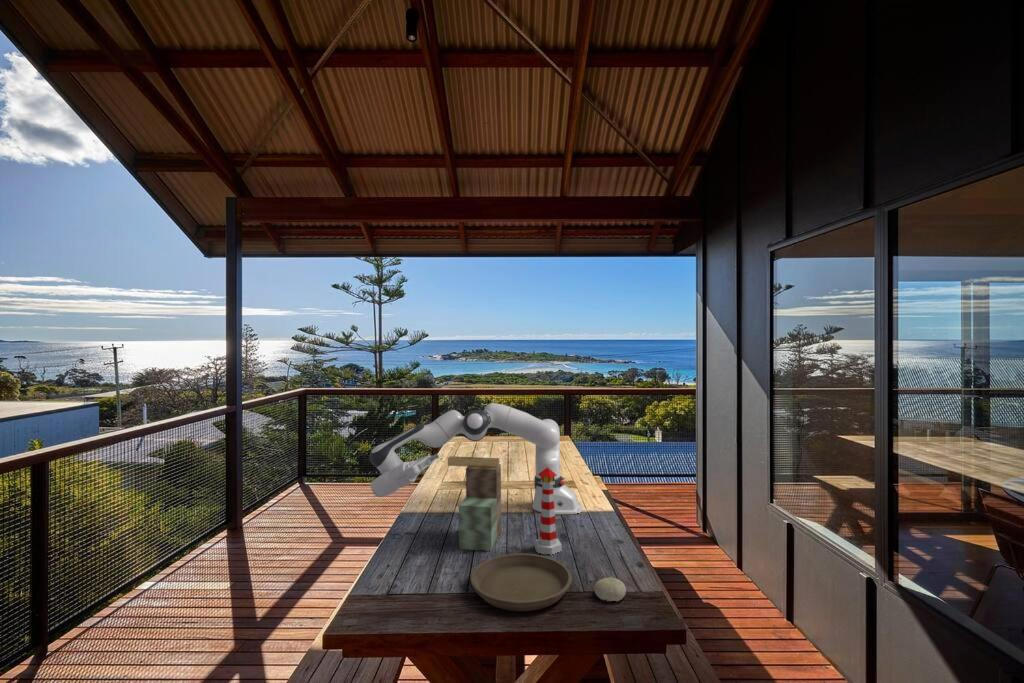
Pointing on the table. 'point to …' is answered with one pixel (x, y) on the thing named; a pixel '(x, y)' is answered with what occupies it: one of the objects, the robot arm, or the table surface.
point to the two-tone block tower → (480, 509)
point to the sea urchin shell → (610, 589)
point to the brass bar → (473, 462)
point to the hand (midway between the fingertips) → (434, 458)
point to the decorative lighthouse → (547, 517)
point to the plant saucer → (521, 581)
